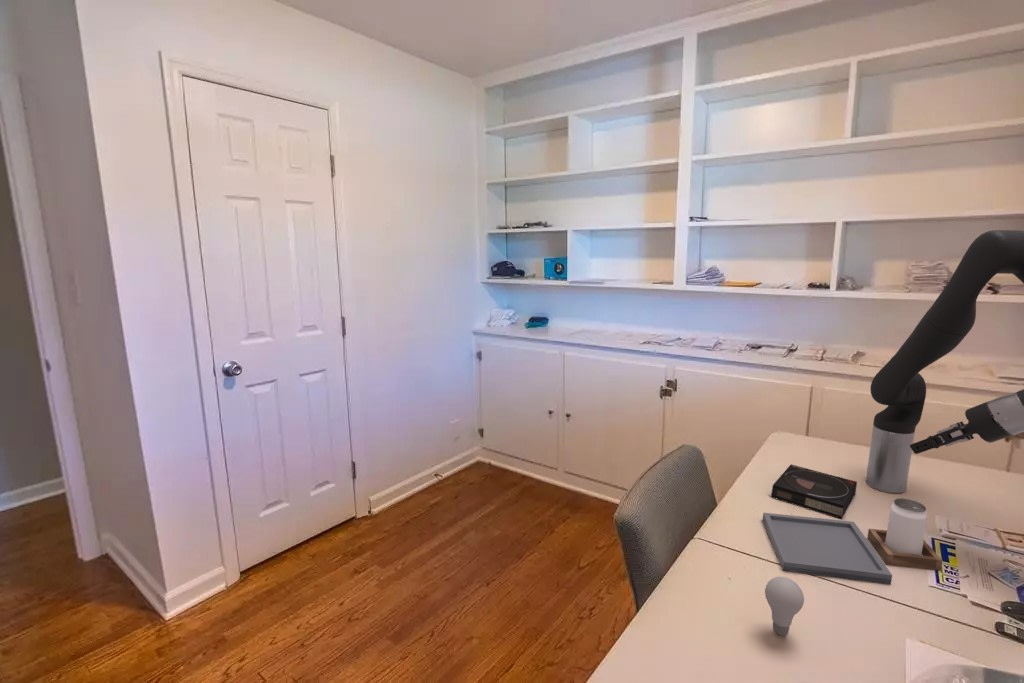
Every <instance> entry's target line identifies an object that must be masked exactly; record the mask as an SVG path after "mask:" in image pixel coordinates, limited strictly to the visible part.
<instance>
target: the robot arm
mask: <svg viewBox="0 0 1024 683" xmlns="http://www.w3.org/2000/svg"><path fill="white" fill-rule="evenodd" d="M997 274H998V275H999V274H1000V275H1001V274H1003V275H1005V274H1007V275H1008V274H1012V275H1014V276H1015V277H1016V278H1017V279H1018V280H1019V281H1020V282H1022V284H1023V285H1024V230H1016V229H1015V230H1014V229H1013V230H1012V229H1010V230H1009V229H993V230H988V231H986V232H983V233H981V234H979V236H977V237H976V238H975V239H974V240H973V241H972V243H971V244H970V245H969V246H968V248H967V250H966V251H965V253H964V255H963V256H962V258H961V260H960V262H959V264H958V265H957V267H956V269H955V270H954V272H953V274H952V275H951V278H950V279H949V280H948V282H947V284H946V285H945V286H944V288H943V289H942V291H941V292H940V294H939V295H938V296H937V298H936V299H935V301H934V302H933V304H931V306H930V307H929V308H928V310H927V311H926V313H925V314H924V315H923V317H921V319H920V320H919V322H918V323H917V325H916V326H915V328H914V329H913V331H912V332H911V333H910V335H909V336H908V337H907V339H906V340H905V341H904V342H903V344H901V346H900V348H899V349H898V350H897V351H896V352H895V354H894V355H893V356H892V357H891V358H890V359H889V361H888V362H886V364H885V365H884V366H882V368H880V370H879V371H878V372H877V373H876V374H875V375H874V376H873V379H872V380H871V383H870V394H871V397H872V399H873V400H874V401H875V402H876V403H878V404H879V405H882V406H886V407H885V408H884V409H883V410H881V411H879V412H878V413H876V414H875V415H874V417H873V424H872V431H871V438H870V448H869V455H868V461H867V470H866V476H865V477H866V478H865V484H866V485H868V486H869V487H871V488H873V489H875V490H878V491H882V492H885V493H890V494H891V493H892V494H902V493H905V492H906V491H907V485H908V479H909V473H910V467H911V466H910V465H911V459H912V452H913V453H914V454H916V455H919V454H921V453H923V452H927V451H929V450H933V449H939V448H940V447H943V446H945V447H949V446H953V445H955V444H958V443H965V442H968V441H970V440H973V439H975V437H974V436H973V435H975V434H976V435H978V436H979V437H980V439H982V440H983V441H985V442H986V443H994V442H997V441H1000V440H1001V441H1002V440H1003V439H1007V438H1009V437H1012V436H1015V435H1019V434H1021V433H1024V389H1021V390H1018V391H1014V392H1011V393H1009V394H1004V395H1002V396H999V397H995V398H993V399H991V400H988V401H985V402H983V403H981V404H977V405H975V406H972V407H969V408H967V409H966V410H965V412H964V415H965V418H966V420H968V422H967V423H964V421H960V422H956V423H953V424H950V425H949V427H947V428H946V427H945V428H942V429H940V430H937V432H936V434H934V435H929V436H928V437H927V438H925V439H923V440H919V441H917V442H914V439H915V434H916V428H917V426H918V424H919V423H920V421H921V419H922V414H923V410H924V406H925V401H926V397H927V384H926V381H925V379H924V377H923V376H922V374H920V372H921V371H922V370H924V369H925V368H927V367H929V366H930V365H931V364H933V363H935V362H937V361H938V360H939V359H941V358H943V357H944V356H945V357H946V356H947V355H948V354H949V353H950V352H952V351H954V350H955V348H957V347H958V345H960V344H961V342H962V341H964V339H965V337H967V335H968V334H969V333H970V331H971V330H972V329H973V327H974V325H975V323H976V322H975V321H976V317H977V299H978V297H979V295H980V293H981V292H982V290H983V289H984V288H985V287H986V285H987V284H988V283H989V281H990V280H992V278H993V277H995V276H996V275H997Z"/></svg>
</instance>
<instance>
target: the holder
mask: <svg viewBox="0 0 1024 683" xmlns="http://www.w3.org/2000/svg"><path fill="white" fill-rule="evenodd" d="M886 535H887V529H886V530H884V529H876V528H868V531H867V541H868V542H869V543H870V545H871V546H873V547H872V548H873V549H874V550H875V552H876V553H877V554H878V556H879V557H880V559H881V560H882V561H884V562H883V563H884V564H885V566H886V565H887V566H894V567H903V568H911V569H912V568H913V569H919V570H920V569H921V570H930V571H937V570H938V571H939V572H941V571H942V566H943V562H944V561H943V559H942V558H941V557H940V556H939V555H938V554H937V553H936V552H935V550H934V549H933V548H932V547H931V546H930V545H929V544H928V543H927V542H926V541H925V539H924V542H923V548H922V554H921V555H912V554H903V553H894V552H891V551H890V550H889V548H888V547H887V546H886V545H885V542H886Z"/></svg>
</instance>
